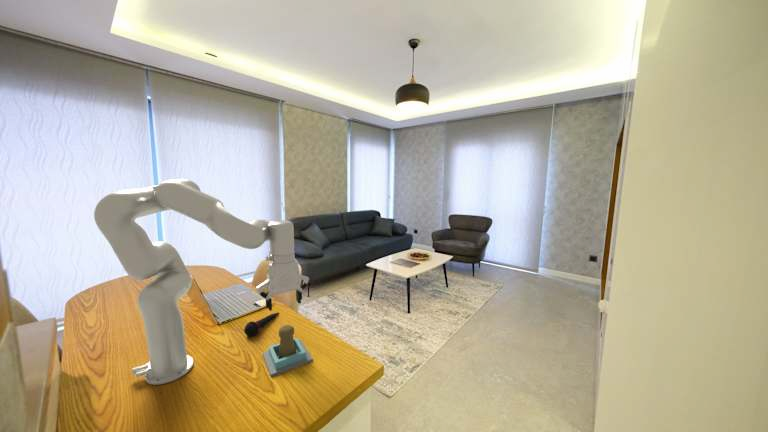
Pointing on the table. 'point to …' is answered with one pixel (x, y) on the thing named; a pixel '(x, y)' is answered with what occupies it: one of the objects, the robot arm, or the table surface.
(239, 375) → the table surface
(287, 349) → the cork
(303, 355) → the socket
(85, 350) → the table surface
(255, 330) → the microphone
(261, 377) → the table surface
